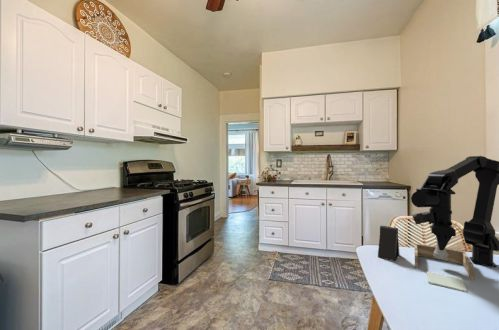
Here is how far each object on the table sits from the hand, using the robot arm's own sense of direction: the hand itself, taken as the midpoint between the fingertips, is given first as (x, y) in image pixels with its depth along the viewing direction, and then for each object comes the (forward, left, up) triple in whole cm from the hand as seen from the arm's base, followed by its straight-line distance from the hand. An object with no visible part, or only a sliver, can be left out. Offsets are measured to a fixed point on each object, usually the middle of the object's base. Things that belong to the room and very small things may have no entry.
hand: (440, 248), depth 84 cm
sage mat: (+13, 0, -7) cm, 15 cm away
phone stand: (-1, -17, -7) cm, 18 cm away
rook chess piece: (0, 0, -3) cm, 3 cm away
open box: (-2, 0, -7) cm, 7 cm away
